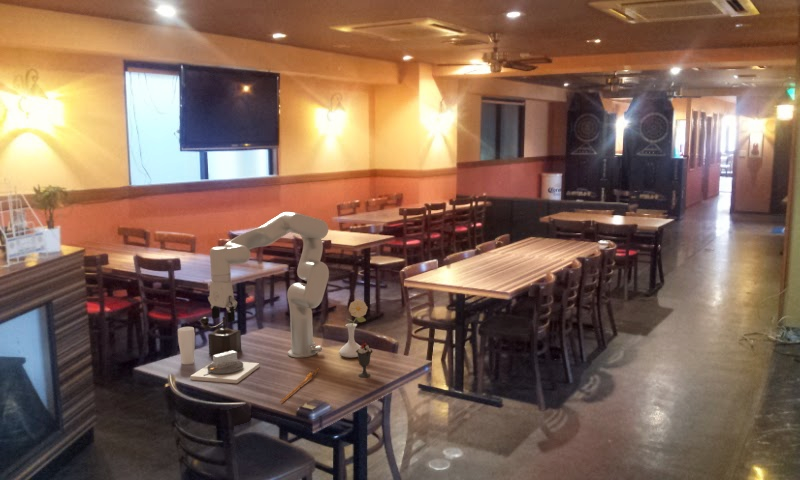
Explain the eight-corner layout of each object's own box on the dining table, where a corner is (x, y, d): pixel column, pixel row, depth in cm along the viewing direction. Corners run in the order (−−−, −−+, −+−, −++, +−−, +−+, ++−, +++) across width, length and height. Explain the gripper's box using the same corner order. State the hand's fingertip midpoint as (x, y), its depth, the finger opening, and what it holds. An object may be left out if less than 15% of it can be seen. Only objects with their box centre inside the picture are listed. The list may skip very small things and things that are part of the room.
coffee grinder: (221, 347, 311) (219, 309, 308) (242, 350, 307) (240, 311, 304) (199, 358, 297) (197, 317, 294) (221, 360, 293) (218, 320, 290)
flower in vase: (336, 359, 293) (334, 302, 289) (341, 351, 304) (340, 296, 300) (366, 360, 291) (365, 303, 287) (370, 352, 302) (369, 296, 298)
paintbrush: (279, 407, 245) (278, 399, 244) (317, 371, 278) (317, 364, 277) (282, 407, 244) (282, 400, 244) (320, 371, 277) (320, 365, 277)
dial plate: (259, 366, 284) (259, 362, 284) (236, 383, 265) (236, 379, 265) (215, 363, 289) (215, 359, 289) (190, 379, 270) (190, 375, 270)
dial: (231, 360, 287) (230, 346, 286) (250, 368, 277) (249, 353, 276) (201, 368, 277) (200, 354, 276) (219, 376, 267) (218, 361, 266)
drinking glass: (191, 366, 286) (189, 331, 284) (176, 365, 288) (174, 330, 285) (199, 360, 293) (197, 326, 291) (184, 360, 294) (182, 326, 292)
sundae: (360, 379, 268) (359, 342, 266) (353, 374, 274) (352, 338, 272) (375, 376, 271) (375, 339, 269) (368, 371, 277) (367, 335, 275)
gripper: (199, 277, 274) (202, 318, 277) (227, 282, 263) (229, 325, 266) (215, 273, 280) (217, 314, 282) (242, 278, 269) (244, 320, 272)
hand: (223, 319), depth 274 cm, fingers open, 9 cm apart
